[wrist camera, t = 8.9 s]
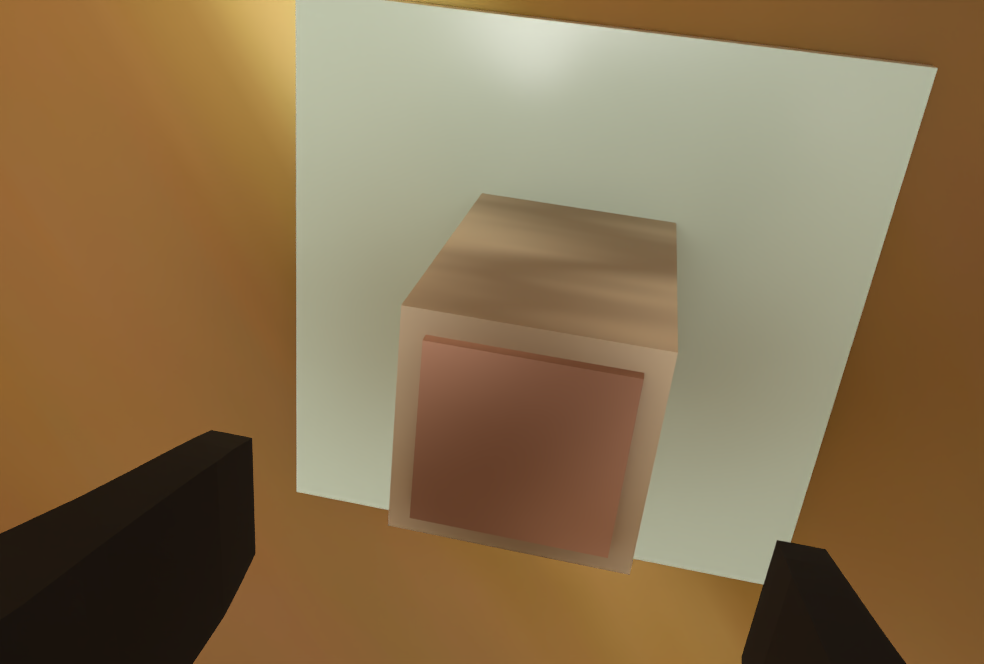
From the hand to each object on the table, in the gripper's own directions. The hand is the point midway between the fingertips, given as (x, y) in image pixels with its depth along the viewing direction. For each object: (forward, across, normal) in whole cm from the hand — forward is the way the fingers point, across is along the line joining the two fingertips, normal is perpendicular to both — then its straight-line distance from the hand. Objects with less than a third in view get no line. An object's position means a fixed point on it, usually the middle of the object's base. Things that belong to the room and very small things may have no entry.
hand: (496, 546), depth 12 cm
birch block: (+8, 0, 0) cm, 8 cm away
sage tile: (+8, 0, 0) cm, 8 cm away
